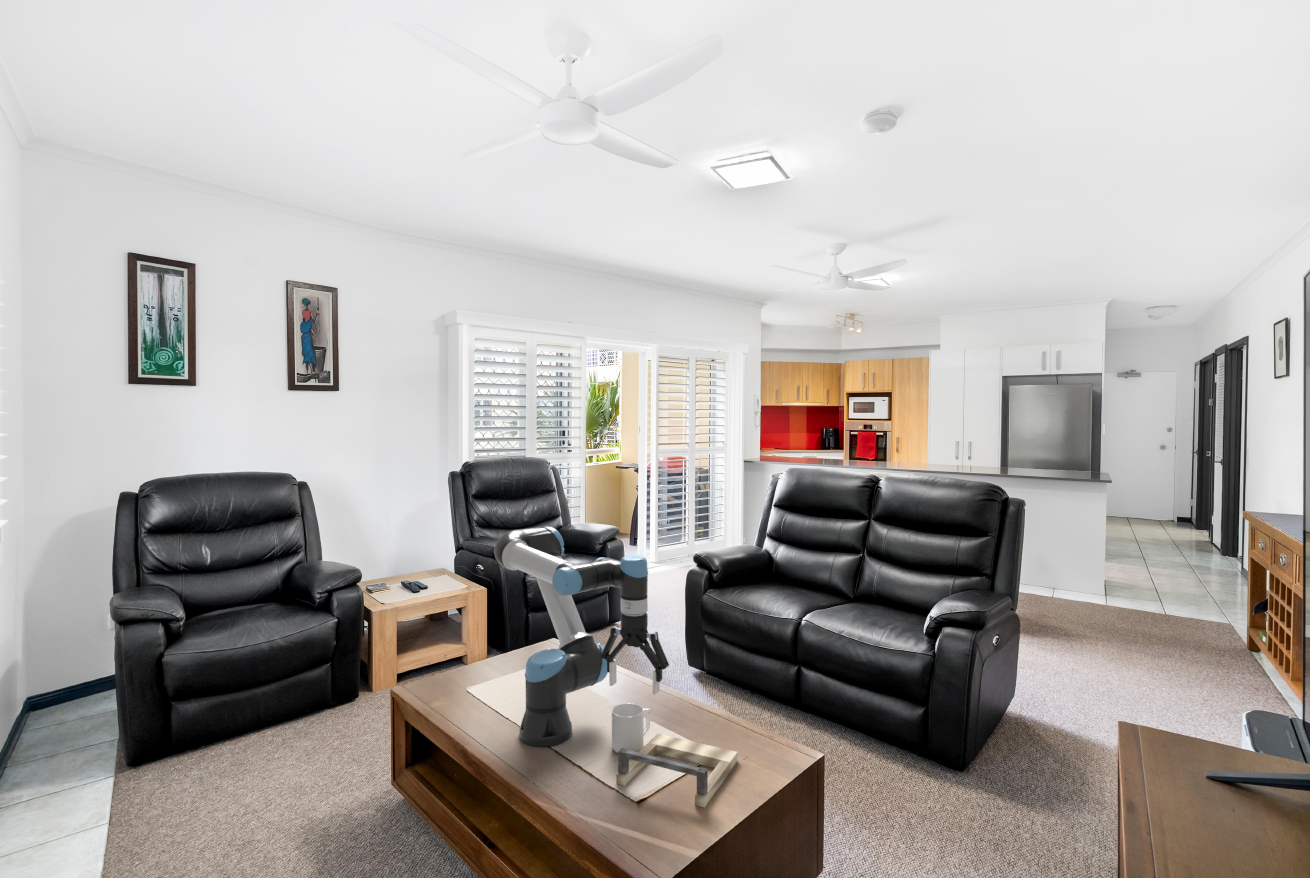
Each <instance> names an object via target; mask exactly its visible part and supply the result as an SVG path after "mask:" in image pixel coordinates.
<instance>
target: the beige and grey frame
mask: <svg viewBox="0 0 1310 878" xmlns="http://www.w3.org/2000/svg"><path fill="white" fill-rule="evenodd" d="M656 753H659V754H658V755H660V754H662V756H664V755H666V757H669V756H670V757H669V758H673V757H674V759H677V760H681V759H682V760H681V761H685V760H687V761H686V762H689V761H691V762H690V763H693V762H695V763H694V764H697V763H699V764H698V765H701V766H706V767H709V768H714V769H713V770H712V771H711V773H710V774H709V773H708V768H705V767H697V766H695V765H694V766H693V765H690V764H686V763H682V762H678V761H673V760H670V759H665V758H662V757H657V756H654V755H657V754H656ZM738 758H739V756H738V751H735V750H731V749H727V748H722V747H718V746H714V745H710V744H704V743H701V742H696V741H692V740H687V739H682V738H680V737H674V736H671V735H666V734H662V733H657V734H655V736H654V737H652V738H651V739H650V740H649V741H648V742H647V743H646V744H645V745H643V748H642V749H641V750H640V751H639V752H634V751H630V750H628V749H624V748H621V749H620V750H619V751H618V753H617V765H618V766H617V772H616V776H615V778H616V779H615V781H616V784H617V785H620V786H624V787H625V786H626V785H628V783H629V782H630V781H631V780H633V778H635V776H636V775H637V774H638V773H639V772H640V771H641V770H642V769H643V768H644V767H645V766H646V765H650V766H656V767H659V768H662V769H668V770H669V771H670V770H671V771H675V772H680V773H682V774H687V775H690V776H695V777H696V793H694V806H696V807H701V808H704V809H706V806H707V805H708V804H709V802H710V801H711V799H712V798H713V797H714V796H715V794H716V793H717V791H718V790H719V788H720V787H721V785H722V784H723V783H724V781H725V779H726V778H727V777H728V775H729V774H730V773H731V772H732V770H733V768H734V767H735V766H736V764H737V763H738V761H739V760H738ZM645 764H646V765H645ZM708 774H709V775H708Z"/></svg>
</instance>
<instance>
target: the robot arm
mask: <svg viewBox="0 0 1310 878" xmlns="http://www.w3.org/2000/svg"><path fill="white" fill-rule="evenodd" d="M564 546H565V543H564V538H563V537H562V534H561V533H560V532H559V530H557V528H555V527H552V526H536V527H532V528H530V527H529V528H524V529H523V528H522V529H514V530H512V529H511V530H510V531H507V532H505V533H503V534H502V535H501V536H500V537H499V538H498V539H497V540H496V542H495V544H494V548H493V549H494V550H493V551H494V552H493V553H494V557H495V561H496V562H497V563H498V564H499V565H500V566H502V567H503V568H506V569H507V570H510V571H518V570H519V571H520V572H523V573H526V574H528V575H530V576H533V577H535V579H536V582H537V584H538V587H539V590H540V593H541V595H542V598H543V601H544V604H545V606H546V609H547V612H548V615H549V617H550V619H551V623H552V627H553V628H554V631H555V634H556V636H557V639H558V643H559V646H558V647H557V648H551V649H543V650H540V651H537V652H535V653H533V654H532V655H531V656H529V657H528V659H527V661H526V663H525V673H524V677H525V711H524V714H523V717H522V720H521V724H520V726H519V739H520V741H521V742H523V744H526V745H529V746H532V747H541V748H542V747H551V746H556V745H559V743H560V744H562V743H564V742H566V741H567V740H569V739H570V738H571V736H572V735H571V734H573V724H572V723H573V722H572V721H571V718H570V715H569V712H568V708H567V694H570V693H574V692H576V691H579V690H582V689H586V688H588V687H592V686H594V685H596V684H598V683H601V682H602V681H604V679H605V678H606V677H607V675H608V673H609V675H608V676H609V682H608V683H609V686H610V687H612V686H614V685H616V684H617V659H615V658H616V657H617V655H618V654H619V653H620V652H621V650H623V649H624V647H625V646H627V647H634V648H636V649H637V648H639V649H640V650H641V651H642V652H643V653H644V655H645V656H646V657H647V659H648V660H649V662H650V663H651V665H652V667H653V668H654V669H652V695H655V696H656V695H657V694H658V693H659V692H660V682H661V681H662V680H663V670H665V669H666V668H668V667H669V666H670V664H669V661H668V658H667V656H666V654H665V652H664V649H663V646H662V645H661V642H660V639H659V632H658V631H653V632H649V631H648V622H649V620H648V618H649V617H648V613H647V612H648V611H649V608H648V605H649V604H648V585H649V584H648V578H649V577H648V575H649V570H648V561H647V559H646V557H644V556H641V555H627V556H623V557H622V558H621V559H620V560H618V559H613V558H611V557H599V558H598V557H597V558H596V559H595V560H593V562H592V561H591V562H586V563H580V564H576V563H573V562H570V561H567V560H565V559H563V556H564V553H565V548H564ZM607 587H613V588H617V589H619V590H620V612H621V614H620V627H619V626H618V625H615V626H613V627H611V629H610V633H609V634H610V635H609V637H608V639H607V641H606V643H605V645H604V644H602V643H601V642H595V638H594V636H593V635H592V634H591V633H587V632H586V630H585V627H584V624H583V622H582V619H581V617H580V614H579V611H578V609H577V606H576V604H575V601H574V599H573V595H576V594H579V593H581V594H582V593H583V592H588V591H593V590H597V589H604V588H607ZM619 635H620V636H621V638H622V639H621V640H620V642H618V644H617V645H616V647H615V648H614V649H613V650H612V648H613V646H614V644H615V642H616V639H617V637H618V636H619ZM648 640H649V641H650V642H649V641H648ZM650 643H651V645H650ZM570 735H571V736H570ZM569 737H570V738H569ZM568 738H569V739H568ZM565 740H566V741H565Z"/></svg>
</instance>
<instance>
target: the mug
mask: <svg viewBox="0 0 1310 878" xmlns="http://www.w3.org/2000/svg"><path fill="white" fill-rule="evenodd" d="M644 713H646V717H645V718H646V719H645V727H644ZM650 725H651V709H650V708H649V707H647V708H646V707H645V708H644V707H642V706H641V705H640V704H636V703H628V702H625V703H620V704H617V705H615V706H614V707H612V709H611V747H612V749H613V751H614V752H615V753H617V754H618V751H619V750H620V749H621V748H624V749H628V750H630V751H634V752H639V751H640V750H641V749H642V748H643V747H644V737H645V735H646V734H647V733H648V731H649V729H650V727H651V726H650Z"/></svg>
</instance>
